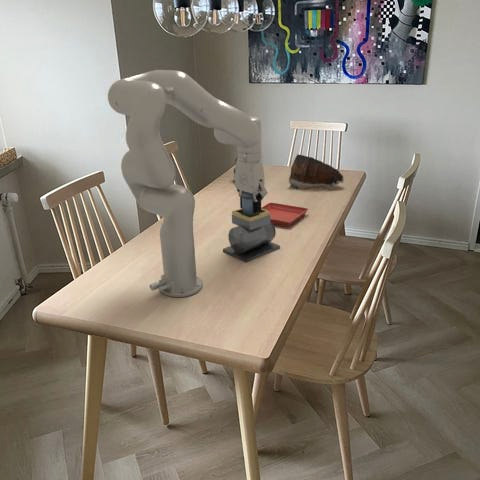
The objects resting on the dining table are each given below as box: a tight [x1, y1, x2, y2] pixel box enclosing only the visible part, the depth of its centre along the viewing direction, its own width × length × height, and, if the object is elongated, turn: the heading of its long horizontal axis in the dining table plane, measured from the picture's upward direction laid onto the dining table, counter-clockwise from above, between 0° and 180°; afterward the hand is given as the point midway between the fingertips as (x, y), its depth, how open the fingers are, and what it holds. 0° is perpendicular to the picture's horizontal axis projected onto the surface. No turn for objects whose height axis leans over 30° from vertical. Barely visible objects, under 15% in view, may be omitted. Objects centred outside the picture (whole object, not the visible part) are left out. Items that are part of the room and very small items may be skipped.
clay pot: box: [288, 154, 345, 190], centre depth 227 cm, size 15×15×25 cm
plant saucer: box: [261, 202, 309, 228], centre depth 192 cm, size 18×18×3 cm
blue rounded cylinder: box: [241, 192, 260, 216], centre depth 158 cm, size 6×6×7 cm
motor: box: [222, 207, 281, 263], centre depth 162 cm, size 16×12×14 cm
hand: (250, 209), depth 159 cm, fingers closed on blue rounded cylinder, 5 cm apart
